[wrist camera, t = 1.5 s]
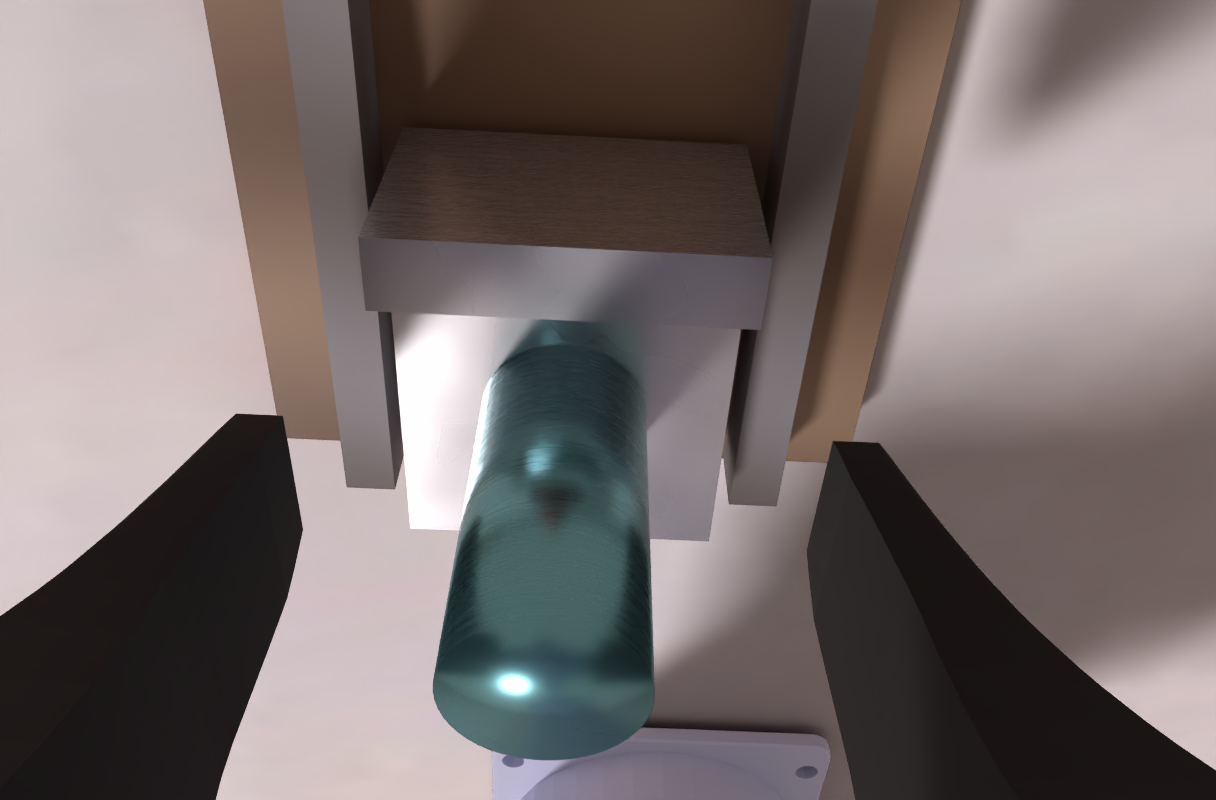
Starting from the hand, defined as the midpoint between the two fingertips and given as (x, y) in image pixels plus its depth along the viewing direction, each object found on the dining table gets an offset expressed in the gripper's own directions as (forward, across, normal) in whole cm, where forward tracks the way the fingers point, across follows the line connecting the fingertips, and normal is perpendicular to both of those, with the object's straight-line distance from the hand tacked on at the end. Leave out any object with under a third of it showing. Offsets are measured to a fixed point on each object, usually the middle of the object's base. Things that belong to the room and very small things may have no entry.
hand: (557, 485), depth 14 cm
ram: (+3, 0, 0) cm, 3 cm away
